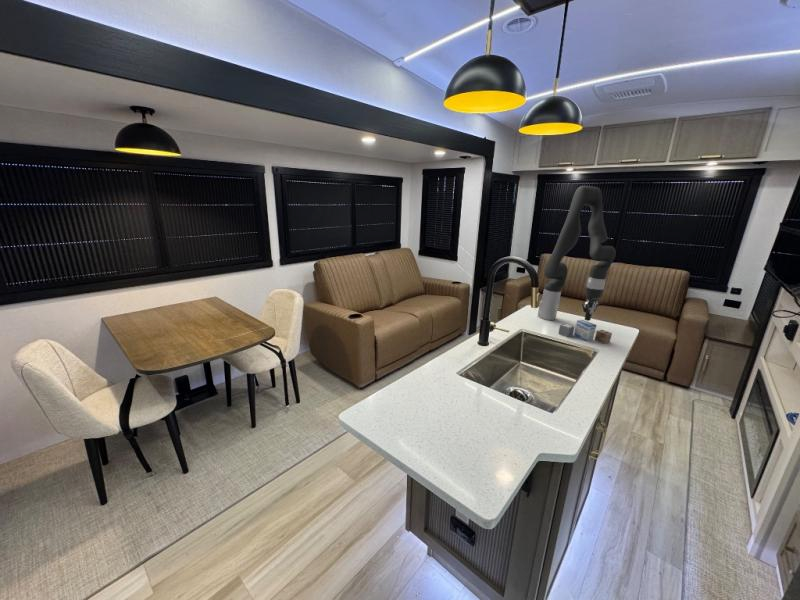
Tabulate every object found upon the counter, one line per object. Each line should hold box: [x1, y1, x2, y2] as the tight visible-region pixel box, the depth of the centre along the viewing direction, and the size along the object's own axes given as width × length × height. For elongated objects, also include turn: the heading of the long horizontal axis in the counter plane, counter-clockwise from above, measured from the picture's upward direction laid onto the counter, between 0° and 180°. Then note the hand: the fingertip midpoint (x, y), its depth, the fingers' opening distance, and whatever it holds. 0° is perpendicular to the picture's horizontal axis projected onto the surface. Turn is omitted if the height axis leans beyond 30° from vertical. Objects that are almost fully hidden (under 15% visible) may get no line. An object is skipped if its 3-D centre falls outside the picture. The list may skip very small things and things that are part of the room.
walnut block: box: [594, 329, 613, 345], centre depth 160 cm, size 5×5×5 cm
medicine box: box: [573, 319, 597, 342], centre depth 162 cm, size 8×4×9 cm, turn 25°
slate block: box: [558, 323, 576, 338], centre depth 166 cm, size 5×5×5 cm
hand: (587, 320), depth 161 cm, fingers closed
